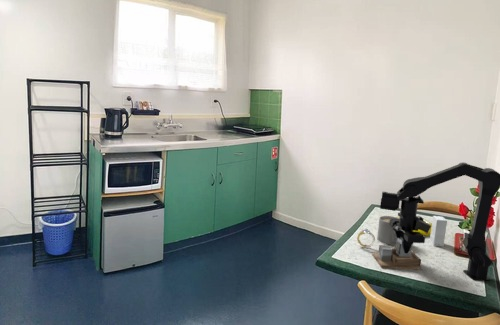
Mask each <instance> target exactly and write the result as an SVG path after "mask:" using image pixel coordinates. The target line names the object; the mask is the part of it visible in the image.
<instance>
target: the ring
mask: <svg viewBox="0 0 500 325" xmlns="http://www.w3.org/2000/svg"><path fill="white" fill-rule="evenodd" d="M365 234H369V235H370V236H371V237H372V242H371V244H363V243H362V242H361V240H360V236H363V235H365ZM356 239H357V242H358V244H359V245H360V246H362V248H365V247H366V248H370V247H372V246H373V245H374V243H375V241H376V239H375V235H374V234H373V233H372V232H371V230H369V229H368V228H365V229H361V231H360V232H359V233H358V234H357V237H356Z"/></svg>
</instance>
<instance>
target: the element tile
mask: <svg viewBox="0 0 500 325" xmlns="http://www.w3.org/2000/svg"><path fill="white" fill-rule="evenodd" d="M396 217H397V218H400V217H399V216H396ZM422 218H423V217H422ZM423 221H425V222H427V223H428V224H429V225H431V228H432V222H430V221H429V220H427V219H425V218H423ZM431 228H430V230H429V232H428V233H425V232H424V231H422V230H419V229H418V231H415V230H413V232H420V233H421V234H422V235H423V236H430V235H431Z"/></svg>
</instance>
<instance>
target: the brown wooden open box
mask: <svg viewBox="0 0 500 325" xmlns="http://www.w3.org/2000/svg"><path fill="white" fill-rule="evenodd" d="M395 249H396V247H395V248H391V246H390V245H388V244H378V251H377V252H372V254H371V257H372V258H374V260H375V261H376V262H377V264H378V265H379V267H380V268H381V269H399V270H400V269H401V270H422V268H423V267H422V259H421V258H420V257H419V256H418V255H416V253H415V252H414V251H413V250H412V249H411V257H400V256H399V255H398V254H397V253H396V250H395Z"/></svg>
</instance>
